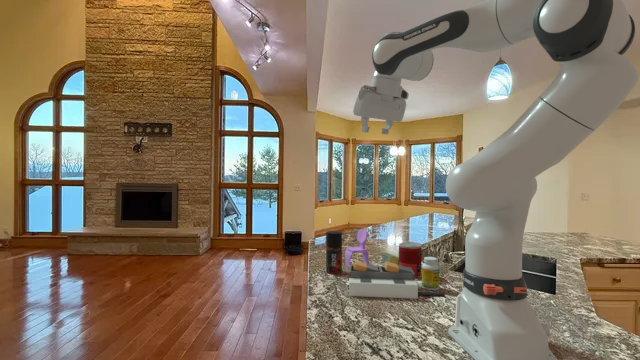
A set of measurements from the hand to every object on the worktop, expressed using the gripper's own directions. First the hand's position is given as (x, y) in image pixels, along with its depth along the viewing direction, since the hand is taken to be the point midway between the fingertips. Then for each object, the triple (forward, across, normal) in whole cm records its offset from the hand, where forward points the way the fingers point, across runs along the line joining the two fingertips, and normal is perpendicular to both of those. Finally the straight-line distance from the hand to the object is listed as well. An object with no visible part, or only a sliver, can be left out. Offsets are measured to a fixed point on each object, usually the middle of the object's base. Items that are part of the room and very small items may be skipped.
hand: (375, 133), depth 101 cm
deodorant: (+54, 0, +5) cm, 54 cm away
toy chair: (+54, +12, +4) cm, 56 cm away
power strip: (+46, +2, -21) cm, 50 cm away
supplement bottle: (+45, +13, -26) cm, 53 cm away
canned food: (+49, +20, -14) cm, 54 cm away
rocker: (+43, -4, -12) cm, 45 cm away
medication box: (+53, +25, -2) cm, 58 cm away
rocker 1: (+41, +4, -18) cm, 45 cm away
